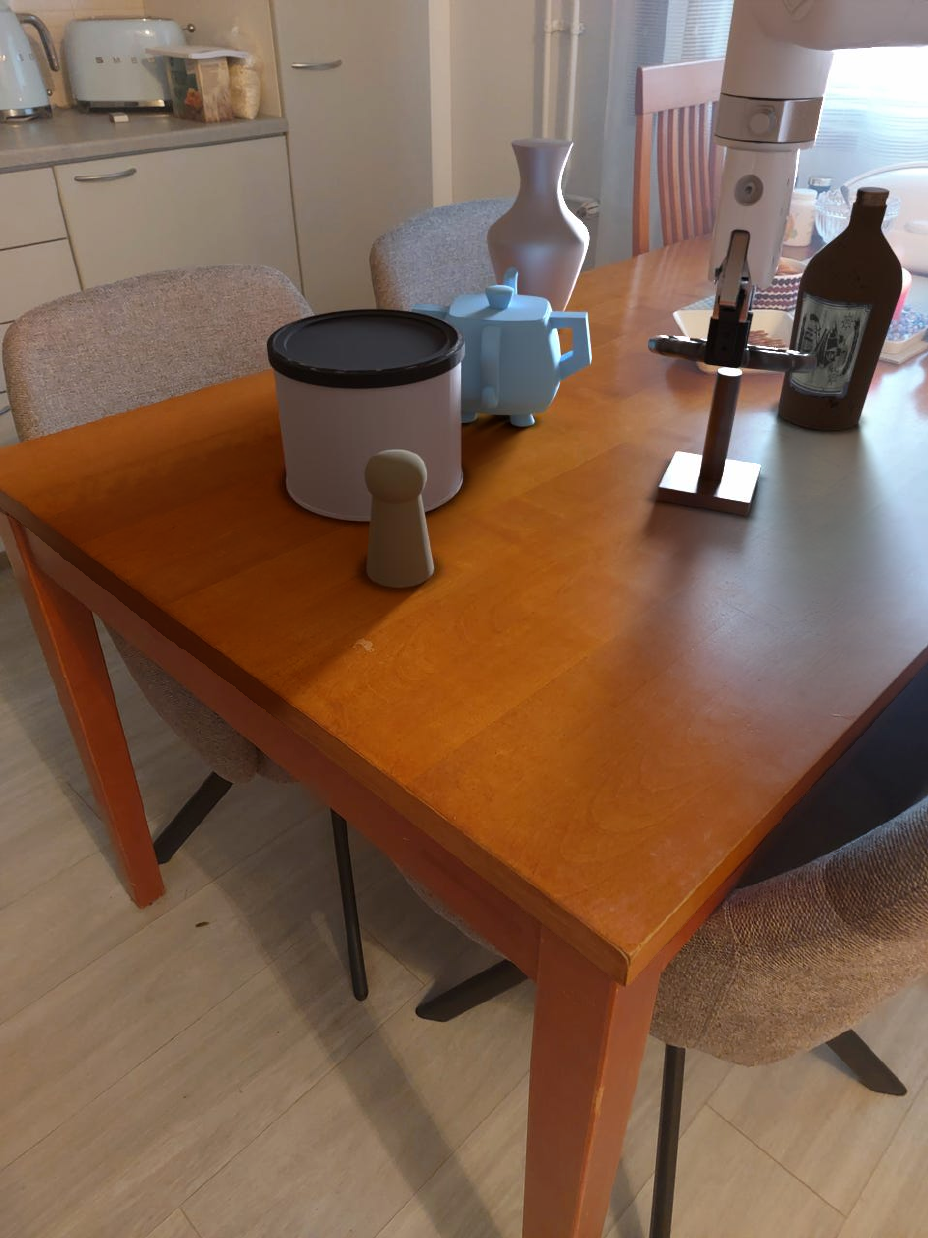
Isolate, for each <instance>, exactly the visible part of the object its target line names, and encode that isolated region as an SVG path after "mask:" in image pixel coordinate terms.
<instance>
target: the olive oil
mask: <svg viewBox="0 0 928 1238" xmlns="http://www.w3.org/2000/svg"><path fill="white" fill-rule="evenodd" d="M855 196H856V198H855V201H853V202H852V207H851V210H850V216H849V221H848V224H847V226H846V227H845V228H844V229H843V230H842V231H840V232H839V234H837V235H836V236H835V237H833V238H831V240H830V241H828V242H827V243H826V244H825V245H824V246H822V247H821V248H820V249H819V250H817V251H816V252H815V253H814V254H813V255H812V257H811V258H810V260H809V261H808V262H807V264H806V266H805V268H804V270H803V272H802V273H801V275H800V276H801V277H800V280H799V284H798V290H797V296H796V302H795V308H794V309H795V310H794V314H793V315H794V316H793V322H792V327H791V334H790V338H789V339H790V340H789V345H788V350H789V351H795V352H801V353H806V354H811V355H813V356H814V357H815V359H816V366H815V368H814V370H813V371H811V372H810V373H787V372H784V373H783V380H782V385H781V391H780V396H779V401H778V406H777V407H778V408H777V412H778V415H780V417H781V418H782V419H784V420H785V421H787V422H789V423H791V424H793V425H796V426H799V427H802V428H805V429H810V430H815V431H816V430H818V431H833V432H834V431H843V430H848V429H851V428H853V427H855V426H857V424H858V423H859V421H860V419H861V417H862V413H863V411H864V406H865V404H866V400H867V397H868V395H869V391H870V387H871V384H872V381H873V378H874V375H875V372H876V368H877V365H878V362H879V360H880V356H881V355H882V354H881V353H882V351H883V348H884V344H885V342H886V340H887V335H888V333H889V330H890V326H891V323H892V321H893V319H894V315H895V313H896V309H897V306H898V304H899V301H900V297H901V295H902V290H903V278H904V277H903V267H902V264H901V261H900V259H899V258H898V256H897V254H896V252H895V251H894V249H893V247H892V245H891V244H890V242H889V241H888V239H887V238H886V236H885V234H884V232H883V228H882V225H883V222H884V219H885V216H886V212H887V209H888V204H887V200H888V199H889V196H890V190H889V189H887V188H883V187H879V186H861V187H859V188H857V191H856V194H855Z"/></svg>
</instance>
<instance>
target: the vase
mask: <svg viewBox="0 0 928 1238" xmlns="http://www.w3.org/2000/svg"><path fill="white" fill-rule="evenodd" d="M510 145H511V148H512V150H513V153H514V156H515V159H516V164H517V168H518V173H519V180H520V181H519V190H518V194H517V196H516V199H515V201H514V202H513V204H512V205H511V207H510V208H509V209H508V210H507V211H506V212H505V213H504V214H502V215H501V216H500V217H498V218H497V219H496V220H495V221H494V222H493V223H492V224H491V225H490V227H489V229H488V231H487V234H486V245H487V250H488V254H489V259H490V263H491V267H492V271H493V275H494V279H495V282H496V285H502V283H503V277H504V273H505V272H506V270H507V269H508V268H511V267H513V268H516V269H517V272H518V275H517V295H528V296H536V297H542V298H545V299H547V300H548V301H549V303H550V306H551V309H552V311H561V312H565V310H566V308H567V306H568V303H569V301H570V299H571V297H572V293H573V291H574V289H575V286H576V283H577V280H578V277H579V275H580V272H581V269H582V266H583V264H584V261H585V258H586V254H587V251H588V247H589V242H590V235H589V232H588V229H587V227H586V226H585V224H583V222H582V221H581V220H580V219H579V218H578V217H577V216H576V215H574V214H573V213H572V212H571V211H570V210H569V209H568V207H567V205H566V203H565V201H564V198H563V195H562V189H561V186H562V185H561V183H562V176H563V173H564V169H565V166H566V164H567V161H568V157H569V155H570V152H571V149H572V147H573V145H574V141H569V140H566V139H561V138H560V139H558V138H546V137H545V138H544V137H543V138H542V137H540V138H537V137H536V138H523V139H515V140H513V141H511V143H510Z"/></svg>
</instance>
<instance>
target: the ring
mask: <svg viewBox="0 0 928 1238" xmlns="http://www.w3.org/2000/svg"><path fill="white" fill-rule="evenodd" d="M706 341H707V339H704V338H697V337H687V336H675V335H666V334H665V335H664V334H663V335H662V334H661V335H654V336H652V337H650V338H649V339H648V342H647V348H648V351H649V352H650V353H652V354H656V355H660V356H663V357H668V358H673V359H678V360H685V361H691V362H696V363H703V364H705V363H704V361H703V359H704V353H705V347H706ZM815 366H816V359H815V357H814V356H813V355H811V354H806V353H801V352H795V351H789V349H783V348H782V349H781V348H776V347H775V348H774V347H767V346H760V345H754V344H748V345H747V349H745V350H744V355H743V360H742V364H741V366H740V367H739V368H738V369H740V368H741V369H747V370H757V371H768V372H774V373H775V372H777V373H785V372H787V373H810V372H811V371H813V370H814V368H815Z"/></svg>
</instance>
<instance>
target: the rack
mask: <svg viewBox="0 0 928 1238" xmlns="http://www.w3.org/2000/svg"><path fill="white" fill-rule="evenodd" d="M742 378H743V371H742V370H741V369H740V368H737V369H735V368H728V367H719V368H718V369H716V374H715V379H714V386H713V392H712V397H711V403H710V408H709V414H708V418H707V419H708V420H707V426H706V432H705V436H704V437H705V438H704V443H703V449H702V454H695V453H690V452H683V451H677V450H676V451H675V452H674V454H673V456H672V458H671V460H670V462H669V464H668V466H667V468H666V470H665V472H664V475H663V477H662V479H661V480H660V483H659V484H658V487H657V494H656V500H657V501H661V502H667V503H672V504H678V505H683V506H687V507H688V506H689V507H694V508H700V509H705V510H711V511H716V512H721V513H728V514H733V515H738V516H744V517H745V516H746V517H747V516H749V513H750V509H751V505H752V502H753V498H754V494H755V491H756V488H757V484H758V481H759V477H760V474H761V468H762V465H761V464H757V463H750V462H744V461H739V460H733V459H727V457H728V452H729V448H730V442H731V437H732V432H733V426H734V422H735V416H736V410H737V407H738V406H737V405H738V400H739V395H740V390H741V384H742Z"/></svg>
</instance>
